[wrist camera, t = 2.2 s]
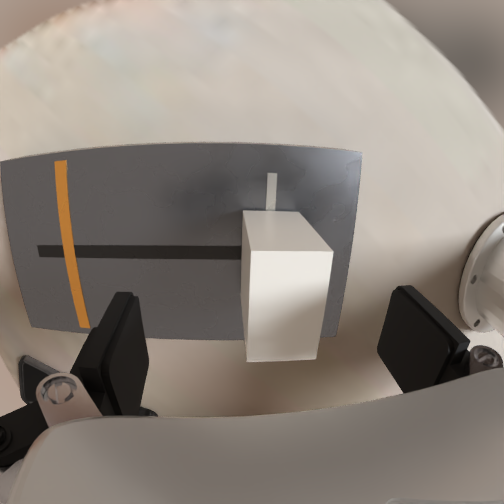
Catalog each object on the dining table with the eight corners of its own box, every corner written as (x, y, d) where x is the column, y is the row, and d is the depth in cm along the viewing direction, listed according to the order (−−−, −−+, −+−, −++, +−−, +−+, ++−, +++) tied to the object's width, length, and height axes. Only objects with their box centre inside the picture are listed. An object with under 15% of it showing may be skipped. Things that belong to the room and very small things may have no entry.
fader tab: (298, 211, 17) (333, 251, 11) (291, 294, 19) (315, 359, 13) (242, 210, 17) (251, 250, 11) (240, 294, 18) (246, 362, 13)
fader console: (343, 149, 19) (362, 152, 16) (324, 313, 23) (336, 336, 20) (24, 156, 17) (-1, 161, 14) (48, 307, 21) (31, 327, 19)
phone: (143, 454, 28) (21, 401, 25) (144, 446, 29) (24, 394, 26) (160, 419, 26) (17, 355, 22) (162, 410, 27) (22, 348, 23)
